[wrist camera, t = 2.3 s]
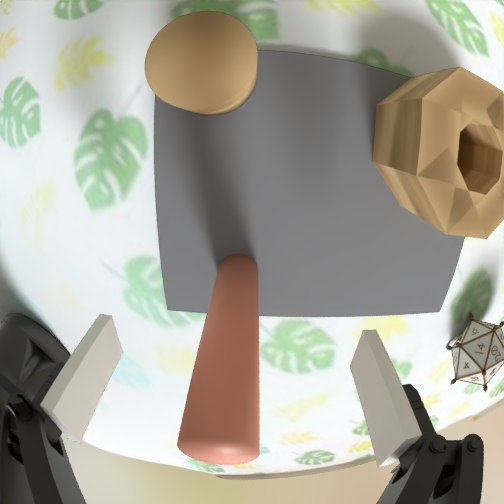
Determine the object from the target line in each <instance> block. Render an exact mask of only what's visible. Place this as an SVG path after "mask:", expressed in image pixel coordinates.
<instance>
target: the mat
mask: <svg viewBox="0 0 504 504" xmlns="http://www.w3.org/2000/svg"><path fill="white" fill-rule="evenodd" d="M257 55H258V57H257V82H256V86H255V88H254V91H253V93H252V94H251V96H250V97H249V98H248V100H247V101H246V102H245V103H244V104H243V105H241V106H240V107H239V108H237V109H235V110H234V111H231V112H229V113H226V114H223V115H217V116H206V115H200V114H197V113H194V112H191V111H188V110H185V109H182V108H179V107H176V106H173V105H171V104H168V103H167V102H165V101H163V100H162V99H161V98H159V97H158V96H157V95H156V94H155V112H154V168H155V194H156V211H157V225H158V237H159V247H160V257H161V266H162V275H163V283H164V290H165V297H166V304H167V310H172V311H184V312H197V313H207V312H208V308H209V304H210V300H211V296H212V292H213V288H214V284H215V281H216V277H217V273H218V269H219V266H220V264H221V262H222V261H223V260H224V259H225V258H226V257H228V256H230V255H233V254H242V255H246V256H248V257H250V258H251V259H252V260H254V262H255V263H256V265H257V267H258V273H259V316H278V317H355V316H384V315H403V314H419V313H432V312H440V309H441V307H442V305H443V302H444V300H445V297H446V294H447V292H448V289H449V286H450V284H451V281H452V278H453V275H454V272H455V269H456V266H457V263H458V260H459V256H460V253H461V250H462V246H463V242H464V239H465V236H457V235H448V234H444V233H443V232H441V231H440V230H438V229H437V228H435V227H434V226H432V225H431V224H429V223H428V222H426V221H425V220H423V219H421V218H420V217H418V216H417V215H415V214H413V213H412V212H410V211H409V210H407V209H405V208H404V207H402V206H401V205H400V204H399V202H398V200H397V199H396V197H395V196H394V194H393V192H392V191H391V189H390V188H389V186H388V184H387V183H386V181H385V180H384V178H383V177H382V175H381V174H380V172H379V171H378V169H377V168H376V167H375V165H374V164H373V162H372V159H373V148H374V136H375V121H376V105H377V104H378V103H380V102H381V101H382V100H383V99H385V98H386V97H387V96H389V95H390V94H391V93H393V92H394V91H395V90H396V89H398V88H399V87H400V86H402V85H403V84H404V83H406V82H407V81H408V80H410V79H411V78H410V77H407V76H404V75H401V74H397V73H394V72H391V71H387V70H384V69H380V68H376V67H373V66H369V65H364V64H360V63H356V62H351V61H346V60H341V59H336V58H330V57H324V56H317V55H310V54H302V53H293V52H282V51H268V50H257Z"/></svg>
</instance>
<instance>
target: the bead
mask: <svg viewBox="0 0 504 504" xmlns="http://www.w3.org/2000/svg"><path fill="white" fill-rule="evenodd" d="M372 162H373V164H374V165H375V167H376V168H377V169H378V171H379V172H380V174H381V175H382V177H383V178H384V180H385V181H386V183H387V184H388V186H389V188H390V189H391V191H392V192H393V194H394V196H395V197H396V199H397V200H398V202H399V204H400V205H401V206H402V207H404V208H405V209H407V210H409V211H410V212H412V213H413V214H415V215H417V216H418V217H420V218H421V219H423V220H425V221H426V222H428V223H429V224H431V225H432V226H434V227H435V228H437V229H438V230H440V231H441V232H443V233H444V234H448V235H457V236H465V237H474V238H482V239H487V238H488V237H489V235H490V234H491V233H492V232H493V231H494V230H495V229H496V228H497V226H498V225H499V224H500V223H501V222H502V221H503V219H504V93H503V91H501V90H500V89H498V88H497V87H495V86H493V85H492V84H490V83H489V82H487V81H485V80H484V79H482V78H480V77H479V76H477V75H475V74H473V73H472V72H470V71H468V70H466V69H464V68H462V67H457V68H452V69H447V70H443V71H438V72H434V73H429V74H425V75H421V76H417V77H413V78H411V79H410V80H408V81H407V82H406V83H404V84H403V85H402V86H400V87H399V88H398V89H396V90H395V91H394V92H393V93H391V94H390V95H389V96H387V97H386V98H385V99H383V100H382V101H381V102H380V103H378V104H377V105H376V121H375V136H374V148H373V159H372Z"/></svg>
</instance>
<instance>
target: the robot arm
mask: <svg viewBox="0 0 504 504" xmlns="http://www.w3.org/2000/svg"><path fill="white" fill-rule="evenodd" d="M122 354H123V350H122V347H121V344H120V341H119V338H118V335H117V332H116V329H115V325H114V322H113V318H112V316H110V315H104V314H100V315H99V316H98V318H97V319H96V320H95V322H94V323H93V325H92V326H91V327H90V329H89V330H88V332H87V333H86V334H85V336H84V337H83V339H82V340H81V342H80V343H79V344H78V346H77V347H76V349H75V350H74V352H73V353H72V355H71V356H70V355H69V353H68V352H67V351H66V350H65V349H64V347H63V346H62V345H61V344H60V343H59V342H58V341H57V340H56V339H55V338H54V337H53V336H52V335H51V334H50V333H49V332H47V331H46V330H45V329H44V328H43V327H41V326H40V325H39V324H37V323H36V322H34V321H33V320H31V319H29V318H28V317H26V316H23V315H21V314H16V313H13V314H10V315H8V316H7V317H6V318H5V319H4V320H3V321H2V322H1V323H0V504H86V502H85V499H84V497H83V495H82V493H81V490H80V488H79V486H78V483H77V481H76V478H75V476H74V473H73V470H72V468H71V465H70V463H69V459H68V456H67V453H66V450H65V447H64V444H63V440H62V438H61V437H60V436H61V434H62V433H64V435H65V436H66V437H67V438H68V439H71V440H73V441H76V442H78V443H81V440H82V438H83V436H84V433H85V431H86V429H87V427H88V424H89V422H90V420H91V418H92V415H93V413H94V411H95V409H96V407H97V405H98V402H99V400H100V398H101V396H102V394H103V392H104V390H105V388H106V386H107V384H108V382H109V380H110V378H111V376H112V374H113V372H114V370H115V368H116V366H117V364H118V362H119V360H120V358H121V356H122ZM350 369H351V372H352V375H353V378H354V382H355V385H356V388H357V391H358V395H359V398H360V402H361V405H362V409H363V412H364V416H365V419H366V423H367V426H368V430H369V434H370V438H371V442H372V445H373V449H374V453H375V457H376V461H377V465H378V467H381V466H385V465H389V464H393V463H394V462H395V461H396V460H397V459H398V458H399V461H400V464H399V465H398V466H397V467H396V468H394V469H393V470H392V472H391V473H394V472H395V473H394V475H393V476H392V478H391V480H390V482H389V484H388V485H387V487H386V489H385V491H384V492H383V494H382V496H381V497H380V499H379V501H378V502H377V503H376V504H480V500H481V492H482V481H483V460H484V445H483V441H482V439H481V438H480V437H479V436H478V435H476V434H469V435H468V436H466V437H465V438H464V439H463V440H446V439H445V438H444V437H443V436H441V435H437V434H436V432H435V430H434V428H433V425H432V423H431V420H430V418H429V416H428V413H427V411H426V409H425V408H424V404H423V402H422V401H421V397H420V395H419V393H418V391H417V390H416V389H415V388H414V387H413V386H412V385H411V384H406V385H402V384H401V382H400V380H399V377H398V375H397V373H396V371H395V368H394V366H393V364H392V362H391V360H390V358H389V356H388V353H387V351H386V349H385V347H384V345H383V343H382V341H381V339H380V337H379V335H378V333H377V331H376V330H363V332H362V335H361V338H360V340H359V343H358V346H357V349H356V351H355V354H354V357H353V359H352V362H351V365H350Z"/></svg>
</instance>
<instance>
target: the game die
mask: <svg viewBox="0 0 504 504" xmlns="http://www.w3.org/2000/svg"><path fill="white" fill-rule="evenodd" d="M469 317H470V319H471V321H470V323H469V324H468V326H467V327H466V329H465V330H464V331H463V333H462V334H461V336H460V337H459V338H458V340H457V341H456V342H455V344H454V345H453V346H452V347H451V346H448V347H446V348H447V349H448V350H452V356H453V363H454V371H455V379H453V380H451V384H454V383H455V382H456V380H460V381H465V382H470V383H475V384H479V385H484V387H483V388H484V389H483V390H484V391H485V392H486V390H487V385H486V384H487V383H488V382H489V381H490V379H491V378H492V377H493V376H494V375H495V374H496V372H497V371H498V370H499V369H500V367H501V366H502V365H503V364H504V336H503V332H502V329H501V327H502V326H503V325H504V321H503V322H501V323H500V325H495V324H491V323H486V322H482V321H478V320H474V319H473V315H472V314H471V313H470V316H469ZM451 384H450V385H451Z"/></svg>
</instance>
